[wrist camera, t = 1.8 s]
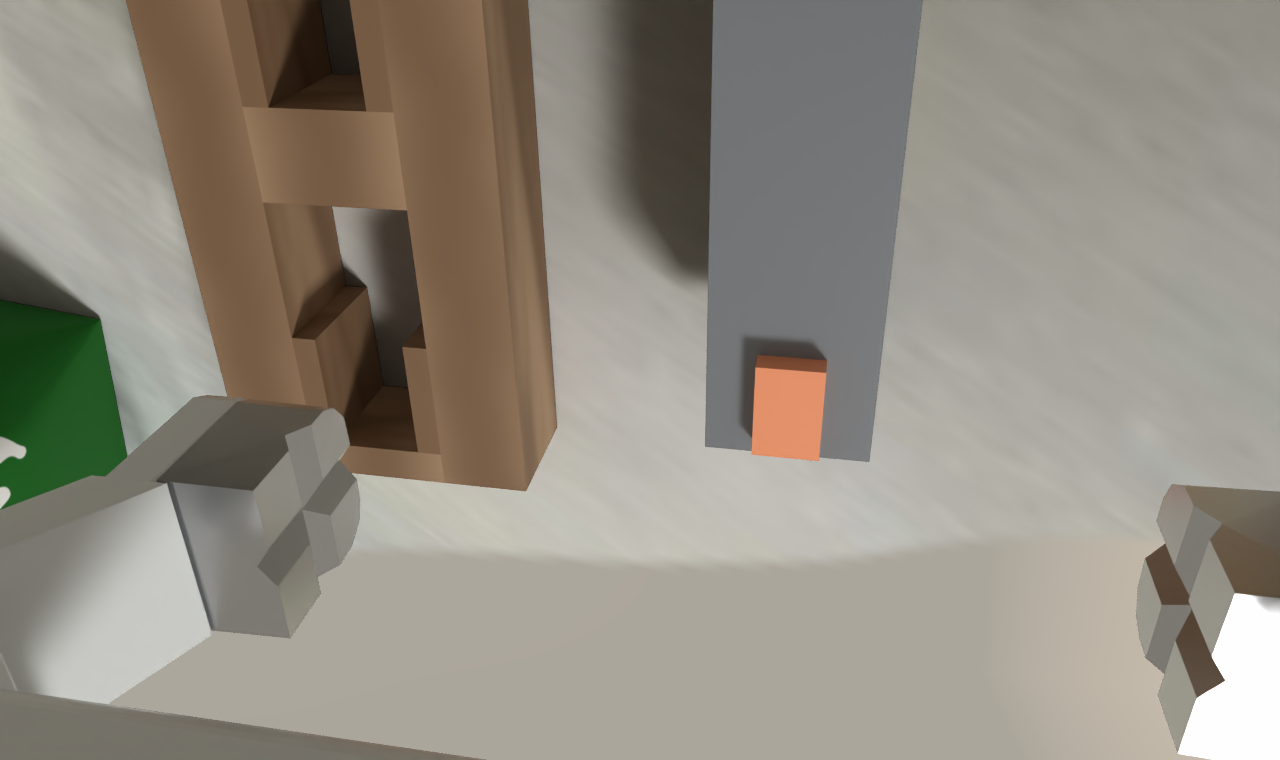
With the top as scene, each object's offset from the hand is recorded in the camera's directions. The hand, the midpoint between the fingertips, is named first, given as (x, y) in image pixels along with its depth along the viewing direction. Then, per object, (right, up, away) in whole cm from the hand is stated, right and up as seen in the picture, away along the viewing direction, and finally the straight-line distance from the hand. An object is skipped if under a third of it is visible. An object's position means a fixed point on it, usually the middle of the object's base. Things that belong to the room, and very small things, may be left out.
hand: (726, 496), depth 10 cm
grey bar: (+4, +9, +15) cm, 18 cm away
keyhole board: (-8, +9, +18) cm, 22 cm away
